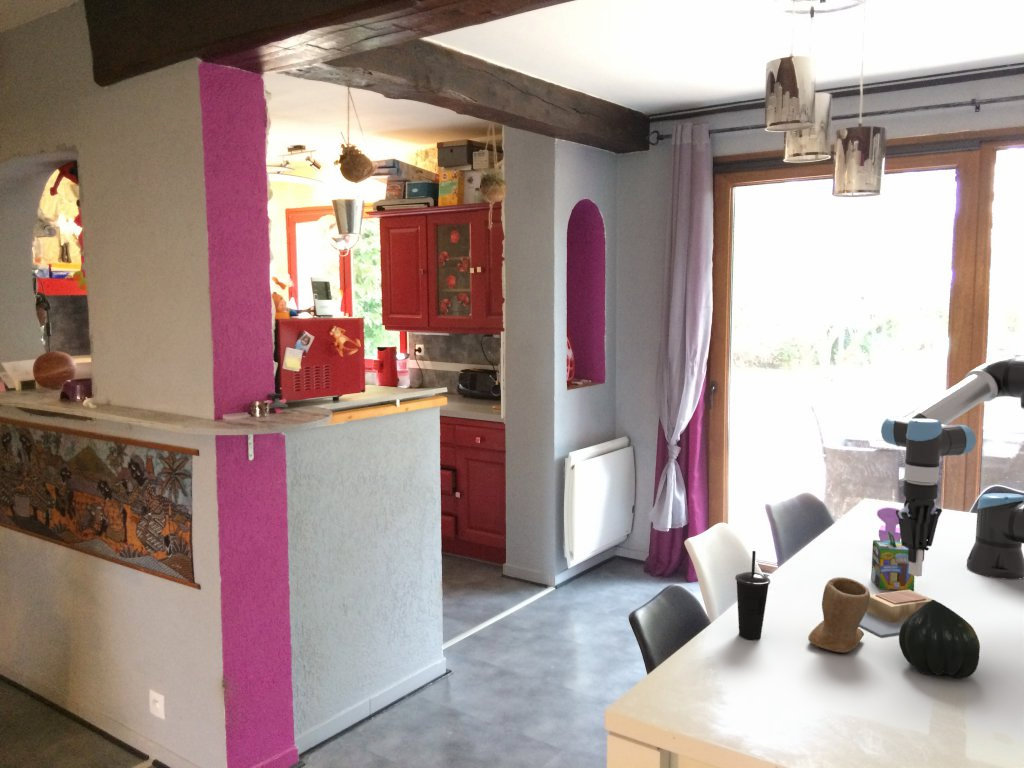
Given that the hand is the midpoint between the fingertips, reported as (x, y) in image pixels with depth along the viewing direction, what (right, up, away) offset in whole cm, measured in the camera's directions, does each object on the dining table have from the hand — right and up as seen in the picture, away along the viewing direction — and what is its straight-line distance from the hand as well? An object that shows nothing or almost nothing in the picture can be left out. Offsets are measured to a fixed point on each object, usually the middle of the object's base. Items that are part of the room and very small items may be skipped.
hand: (914, 574), depth 198 cm
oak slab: (+2, -8, +2) cm, 8 cm away
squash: (-11, -13, -31) cm, 35 cm away
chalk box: (+5, -8, +22) cm, 24 cm away
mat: (-9, -10, -2) cm, 14 cm away
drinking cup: (-46, -11, -15) cm, 49 cm away
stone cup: (-26, -12, -18) cm, 34 cm away
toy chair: (+19, -6, +53) cm, 56 cm away
